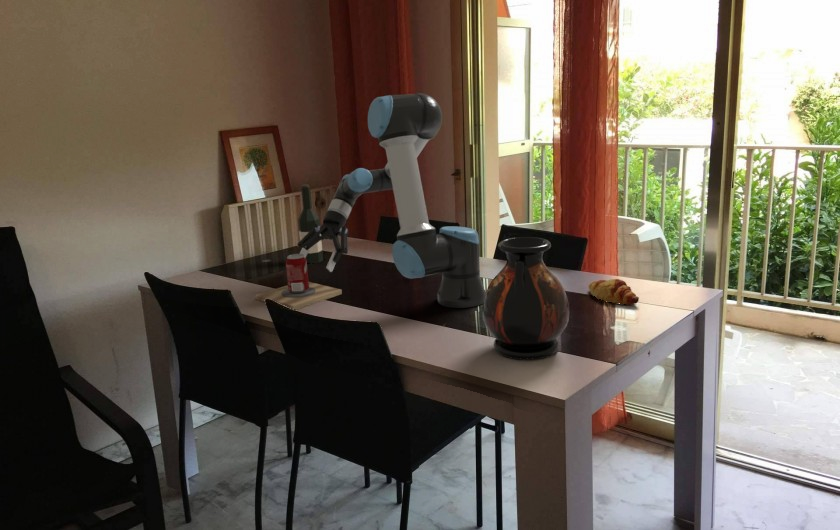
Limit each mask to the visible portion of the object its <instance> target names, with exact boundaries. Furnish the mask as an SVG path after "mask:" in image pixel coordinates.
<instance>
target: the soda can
mask: <svg viewBox="0 0 840 530" xmlns="http://www.w3.org/2000/svg"><path fill="white" fill-rule="evenodd" d="M286 258H287V259H286V261H285V270H286V280H287V285H288V290H289V292H292V293H295V294H298V293H304V292H306V291H307V290H308V289H309V282H310V281H309V273H308V264H307V260H306V259H305V258H304V255H303V254H298V253H293V254H289V255H287V256H286Z"/></svg>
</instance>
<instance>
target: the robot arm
mask: <svg viewBox="0 0 840 530" xmlns="http://www.w3.org/2000/svg"><path fill="white" fill-rule="evenodd" d="M370 103H371V104H370V105H369V108H368V113H367V127H368V128H367V129H368V131H369V133H370V135H371V137H373V138H375V139H377V140H378V143H379V144H378V145H379V146H380V147H382V148H383V149H384V150H385V153H386V154H385V155H386V158H387V163H386V164H385V166H384V167H383V168H379V169H370V170H368V169H366V168H364V167H359V168H356V169H355V170H353V171H351V172H350V173H349V174H345V175H343V177H342V179H341V180H340V181H339V183H338V184H339V185H338V187H337V189H336V191H335V193H334V196H333V198H332V200H331V202H330V203H329V206H328V208H327V211H326V212H325V213H324V217H323V219H322V222H323V223H322V224H321V225H320V226H318V225H317V224H315V225H314V226H313V228H312V229H311V230H310V231H309V232H308V234H307V235H306V236H305V237H304V238H303V239H302V240H301V241H300V240H299V242H298V243H297V246H298V247H299V252H298V253H297V254H303V255H304V258H306V256H307V254H308V251H307V250H308V249H310V248H311V247H312V246H314V245H315V244H316V243H318V242H319V241H320V240H321V241H323V240H330V241H332V242H333V245H334V248H335V249H334V250H333V251H332V253H331V256H330V258H329V261H328V262H327V265H326V267H325V269H326V270H328V272H329V273H332V272H333V270H334V269H335V265H336V264H337V263H338V262H339V260H340V258H341V256H343V254H345V255H347V254H348V251H349V250H348V236H349V232H350V231H349V229H348V228H347V227H346V226H345V225H346V223H347V220H348V219H349V217H350V214H351V212H352V209H353V207H354V205H355V203H356V200H357V199H358V198H359V197H360V196H361V195H362V194H369V193H376V192H382V191H383V192H384V191H391V190H392V191H393V196H394V200H395V206H396V211H397V212H396V213H397V217H398V222H399V228H400V229H399V231H398V232H397V234H396V239H397V240H396V241H395V242H394V243H393V245H392V247H391V248H392V250H391V253H392V259H393V263H394V265H395V267H396V269H397V271H398V272H399V273H400V274H401V275H402V276H403V277H405V278H407V279H409V280H410V279H417V278H419V279H420V278H421V279H422V278H424V277H428V276H434V275H437V274H441V281H440V284H439V287H438V292H437V303H438V304H439V305H440V306H442V307H446V308H453V309H466V308H473V307H477V306H481V305H483V303H484V298H485V294H486V291H487V290H485V287H484V283H483V281H482V278H481V273H480V271H481V270H480V269H481V266H480V237H479V234H478V231H477V230H476V229H473V228H470V227H465V226H457V225H455V226H453V225H452V226H442V227H440V228H439V233H438V234H437V231H436V227H434V226H433V225H431V224H430V221H429V217H428V211H427V204H426V200H425V195H424V194H425V193H424V190H423V185H422V180H421V179H422V178H421V173H420V169H419V163H418V157H419V155H420V154H421V152H422V151H423V149H424V148H425V146H426V145H427V144H428V142H429V141H430V140H432V139H434V138H435V137H436V136H437V135H438V133H439V131H440V129H441V128H442V127H441V126H442V125H443V124H442V123H443V112H442V109H441V106H440V105H439V103H438V102H437V100H435V99H434V97H432V96H430V95H429V94H425V93H420V92H419V93H409V94H391V95H390V94H388V95H384V96H377V97H376V98H374V99H373V100H372V102H370ZM320 234H321V236H320ZM339 236H340V239H339ZM305 246H306V247H305Z"/></svg>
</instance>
